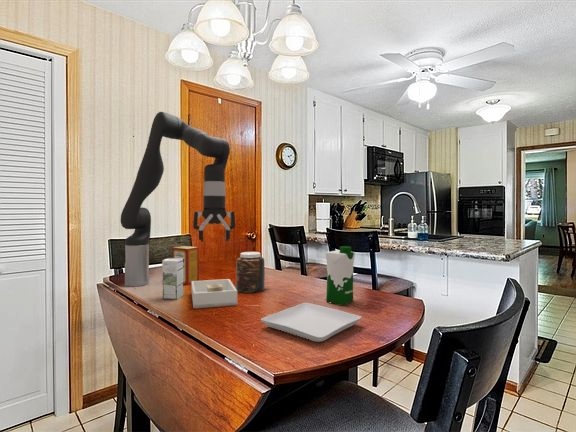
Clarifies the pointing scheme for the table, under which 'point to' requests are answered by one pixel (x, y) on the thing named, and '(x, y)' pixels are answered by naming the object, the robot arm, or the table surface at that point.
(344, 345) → the table surface
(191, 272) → the baking soda box
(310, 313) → the salad plate
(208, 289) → the birch cube
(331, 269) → the milk carton
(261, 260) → the jar
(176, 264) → the syrup box
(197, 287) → the tote
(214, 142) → the robot arm
